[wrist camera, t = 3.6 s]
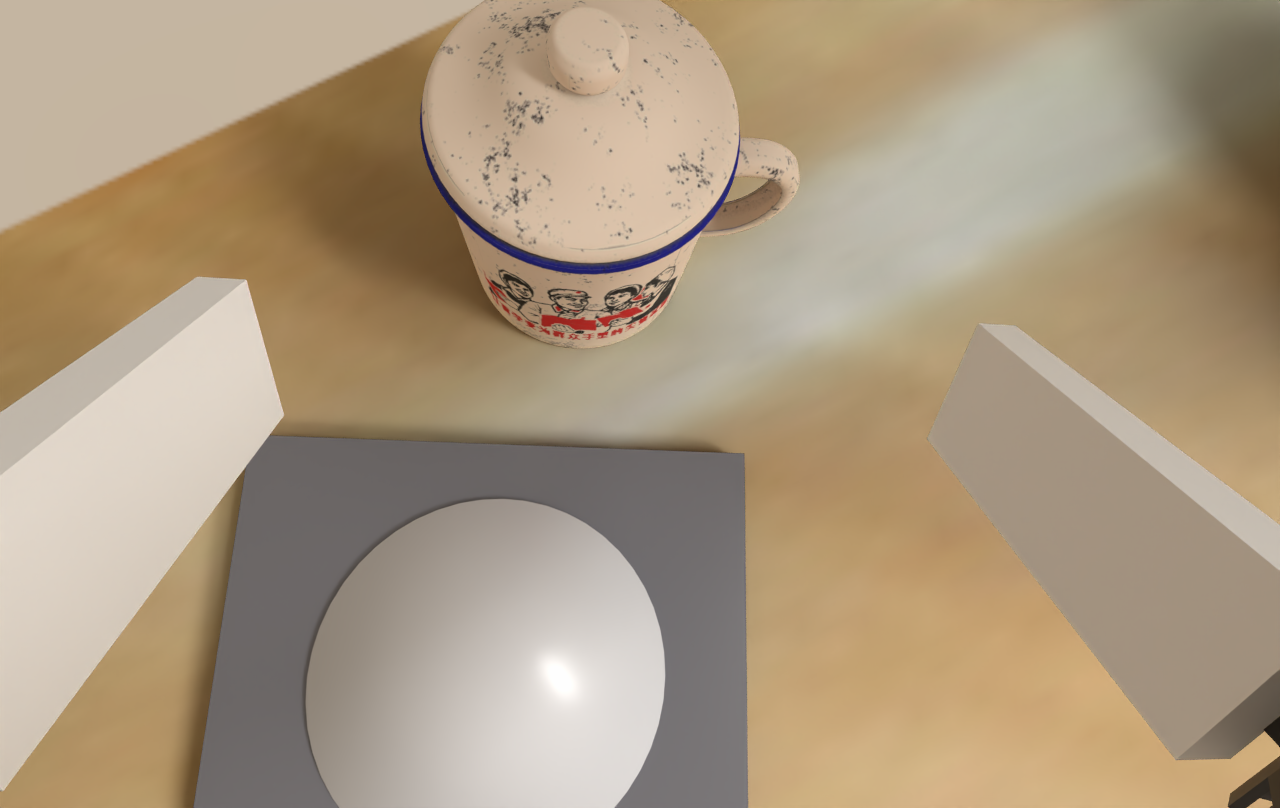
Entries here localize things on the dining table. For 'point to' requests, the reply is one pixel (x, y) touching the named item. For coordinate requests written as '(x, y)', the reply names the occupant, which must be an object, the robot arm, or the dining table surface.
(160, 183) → the dining table surface
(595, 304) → the teacup with lid
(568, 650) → the warming pad
